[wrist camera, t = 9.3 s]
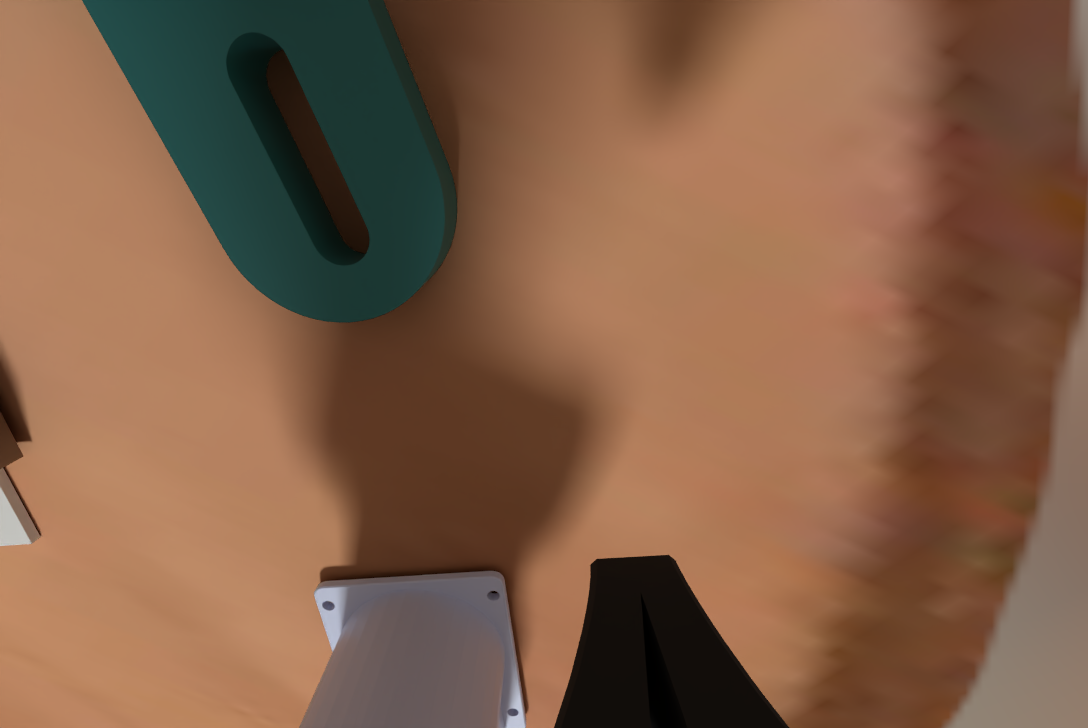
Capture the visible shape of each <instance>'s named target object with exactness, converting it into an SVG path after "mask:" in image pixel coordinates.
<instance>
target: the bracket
mask: <svg viewBox="0 0 1088 728" xmlns="http://www.w3.org/2000/svg"><path fill="white" fill-rule="evenodd" d="M82 1H83V3H84V5H85V6H86V8H87V10H88V12H89V13H90V15H91V17H92V19H93V20H94V22H95V24H96V26H97V27H98V29H99V31H100V33H101V34H102V36H103V38H104V40H105V41H106V43H107V45H108V47H109V48H110V50H111V52H112V54H113V55H114V57H115V59H116V61H117V62H118V64H119V66H120V68H121V69H122V71H123V73H124V75H125V76H126V78H127V80H128V82H129V84H130V85H131V87H132V89H133V91H134V92H135V94H136V96H137V98H138V99H139V101H140V103H141V105H142V106H143V108H144V110H145V112H146V113H147V115H148V117H149V119H150V120H151V122H152V124H153V126H154V127H155V129H156V131H157V133H158V134H159V136H160V138H161V140H162V141H163V143H164V145H165V147H166V148H167V150H168V152H169V154H170V156H171V157H172V159H173V161H174V163H175V164H176V166H177V168H178V170H179V171H180V173H181V175H182V177H183V178H184V180H185V182H186V184H187V185H188V187H189V189H190V191H191V192H192V194H193V196H194V198H195V199H196V201H197V203H198V205H199V206H200V208H201V210H202V212H203V213H204V215H205V217H206V219H207V220H208V222H209V224H210V226H211V227H212V229H213V231H214V233H215V235H216V236H217V238H218V240H219V242H220V243H221V245H222V247H223V249H224V250H225V252H226V253H227V255H228V256H229V258H230V260H231V261H232V262H233V264H234V265H235V266H236V268H237V269H238V270H239V271H240V273H241V274H242V275H243V276H244V277H245V278H246V279H247V280H248V281H249V282H250V283H251V284H252V285H253V286H254V287H255V288H256V289H257V290H259V291H260V292H261V293H263V294H264V295H265V296H267V297H268V298H269V299H271V300H272V301H274V302H276V303H277V304H279V305H280V306H282V307H284V308H286V309H288V310H290V311H293V312H295V313H297V314H300V315H302V316H306V317H309V318H313V319H317V320H322V321H328V322H357V321H363V320H368V319H372V318H375V317H378V316H381V315H384V314H386V313H388V312H390V311H392V310H394V309H395V308H397V307H398V306H400V305H402V304H403V303H404V302H406V301H407V300H408V299H409V298H410V297H412V296H413V295H414V294H415V293H416V292H417V291H418V290H419V289H420V288H421V287H422V286H423V285H424V284H425V283H426V282H427V281H428V280H429V279H430V278H431V277H432V276H433V275H434V274H435V272H436V271H437V270H438V268H439V267H440V266H441V264H442V262H443V261H444V259H445V257H446V255H447V253H448V251H449V249H450V246H451V243H452V240H453V237H454V233H455V227H456V220H457V198H456V190H455V185H454V181H453V176H452V173H451V170H450V168H449V165H448V162H447V159H446V157H445V154H444V152H443V149H442V147H441V144H440V142H439V139H438V137H437V134H436V132H435V129H434V127H433V124H432V122H431V119H430V117H429V114H428V112H427V109H426V107H425V104H424V101H423V99H422V96H421V94H420V91H419V89H418V86H417V84H416V81H415V79H414V76H413V74H412V71H411V69H410V66H409V64H408V61H407V59H406V56H405V54H404V51H403V49H402V46H401V44H400V41H399V38H398V36H397V33H396V31H395V28H394V26H393V23H392V21H391V18H390V16H389V13H388V11H387V8H386V6H385V3H384V1H383V0H82ZM282 49H283V50H284V52H285V53H286V55H287V57H288V59H289V61H290V64H291V66H292V68H293V70H294V72H295V74H296V76H297V79H298V81H299V83H300V85H301V87H302V89H303V91H304V94H305V96H306V98H307V100H308V102H309V104H310V106H311V109H312V111H313V113H314V115H315V117H316V119H317V121H318V124H319V126H320V128H321V130H322V132H323V134H324V136H325V139H326V141H327V143H328V145H329V147H330V149H331V151H332V154H333V156H334V158H335V160H336V162H337V164H338V166H339V169H340V171H341V173H342V175H343V177H344V179H345V181H346V184H347V186H348V188H349V190H350V192H351V194H352V196H353V199H354V201H355V203H356V205H357V207H358V209H359V211H360V214H361V216H362V218H363V220H364V222H365V224H366V226H367V229H368V232H369V238H370V242H369V248H368V251H367V253H366V254H363V253H359V252H357V251H354V250H353V249H351V248H350V247H349V246H348V245H347V244H346V243H345V242H344V241H343V239H342V238H341V236H340V234H339V231H338V229H337V227H336V225H335V223H334V221H333V219H332V217H331V215H330V213H329V211H328V209H327V207H326V205H325V203H324V201H323V199H322V197H321V195H320V192H319V190H318V188H317V186H316V184H315V182H314V180H313V178H312V176H311V174H310V172H309V170H308V168H307V166H306V164H305V162H304V160H303V158H302V156H301V153H300V151H299V149H298V147H297V145H296V143H295V141H294V139H293V137H292V135H291V133H290V131H289V129H288V127H287V125H286V123H285V121H284V119H283V117H282V114H281V112H280V110H279V108H278V106H277V104H276V102H275V100H274V98H273V96H272V94H271V92H270V90H269V87H268V84H267V78H266V71H267V66H268V63H269V61H270V59H271V58H272V56H273V55H274V54H275V53H276V52H278V51H280V50H282Z"/></svg>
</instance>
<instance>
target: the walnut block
mask: <svg viewBox="0 0 1088 728" xmlns="http://www.w3.org/2000/svg"><path fill="white" fill-rule="evenodd" d="M21 457H23V454H22V452H21V450H20V448H19V447H18V445H17V443H16V441H15V439H14V437H13V435H12V433H11V431H10V429H9V427H8V425H7V424H6V422H5V420H4V418H3V416H2V414H1V412H0V469H2V468H3V467H5V466H7V465H9V464H10V463H12V462H14V461H16V460H18V459H19V458H21Z"/></svg>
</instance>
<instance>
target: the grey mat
mask: <svg viewBox="0 0 1088 728" xmlns="http://www.w3.org/2000/svg"><path fill="white" fill-rule="evenodd" d="M39 538H40V535H39V533H38V531H37V529H36V528H35V526H34V524H33V522H32V520H31V518H30V517H29V515H28V513H27V511H26V509H25V507H24V505H23V504H22V502H21V500H20V498H19V496H18V494H17V493H16V491H15V489H14V487H13V485H12V483H11V482H10V480H9V478H8V476H7V474H6V472H5V470H4V469H3V468H2V469H0V546H6V545H20V544H32V543H33V542H35V541H36V540H38V539H39Z"/></svg>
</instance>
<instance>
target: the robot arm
mask: <svg viewBox="0 0 1088 728" xmlns="http://www.w3.org/2000/svg"><path fill="white" fill-rule="evenodd" d="M490 591H496V592H498V593H491V592H490ZM314 597H315V600H316V603H317V606H318V609H319V612H320V615H321V618H322V621H323V624H324V627H325V630H326V633H327V636H328V639H329V642H330V646H331V649H332V652H333V653H332V655H331V657H330V659H329V662H328V664H327V666H326V668H325V671H324V673H323V675H322V677H321V680H320V682H319V684H318V686H317V689H316V691H315V693H314V695H313V698H312V700H311V702H310V704H309V707H308V709H307V711H306V713H305V715H304V718H303V720H302V722H301V724H300V727H299V728H526V714H525V707H524V701H523V695H522V688H521V682H520V675H519V669H518V662H517V656H516V650H515V643H514V637H513V630H512V624H511V618H510V611H509V605H508V598H507V592H506V585H505V579H504V577H503V575H502V574H501V573H499V572H497V571H478V572H462V573H447V574H431V575H415V576H399V577H383V578H367V579H351V580H335V581H324V582H321V583H320V584H319V585H318V586H317V588H316V590H315V592H314ZM328 601H331V602H332V603H330V602H328ZM554 728H789V727H788V726H787V724H786V723H785V722H784V720H783V719H782V718H781V717H780V715H779V714H778V713H777V712H776V710H775V709H774V708H773V707H772V705H771V704H770V703H769V701H768V700H767V699H766V698H765V696H764V695H763V694H762V692H761V691H760V690H759V688H758V687H757V686H756V684H755V683H754V682H753V680H752V679H751V678H750V676H749V675H748V673H747V672H746V671H745V669H744V668H743V666H742V665H741V664H740V662H739V661H738V659H737V658H736V657H735V655H734V654H733V652H732V651H731V650H730V648H729V647H728V645H727V644H726V643H725V641H724V640H723V638H722V637H721V635H720V634H719V632H718V631H717V630H716V628H715V627H714V625H713V624H712V622H711V620H710V619H709V617H708V616H707V614H706V613H705V611H704V610H703V608H702V606H701V605H700V603H699V602H698V600H697V598H696V597H695V595H694V594H693V592H692V590H691V588H690V587H689V585H688V583H687V582H686V580H685V578H684V576H683V574H682V573H681V571H680V569H679V567H678V565H677V563H676V561H675V560H674V559H673V558H672V557H670V556H669V555H661V556H643V557H625V558H607V559H596V560H595V561H594V562H593V563H592V564H591V578H590V589H589V597H588V603H587V609H586V614H585V619H584V624H583V629H582V634H581V637H580V641H579V645H578V649H577V653H576V657H575V661H574V665H573V669H572V673H571V676H570V680H569V683H568V686H567V689H566V692H565V696H564V699H563V702H562V705H561V708H560V711H559V714H558V717H557V720H556V723H555V727H554Z"/></svg>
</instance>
